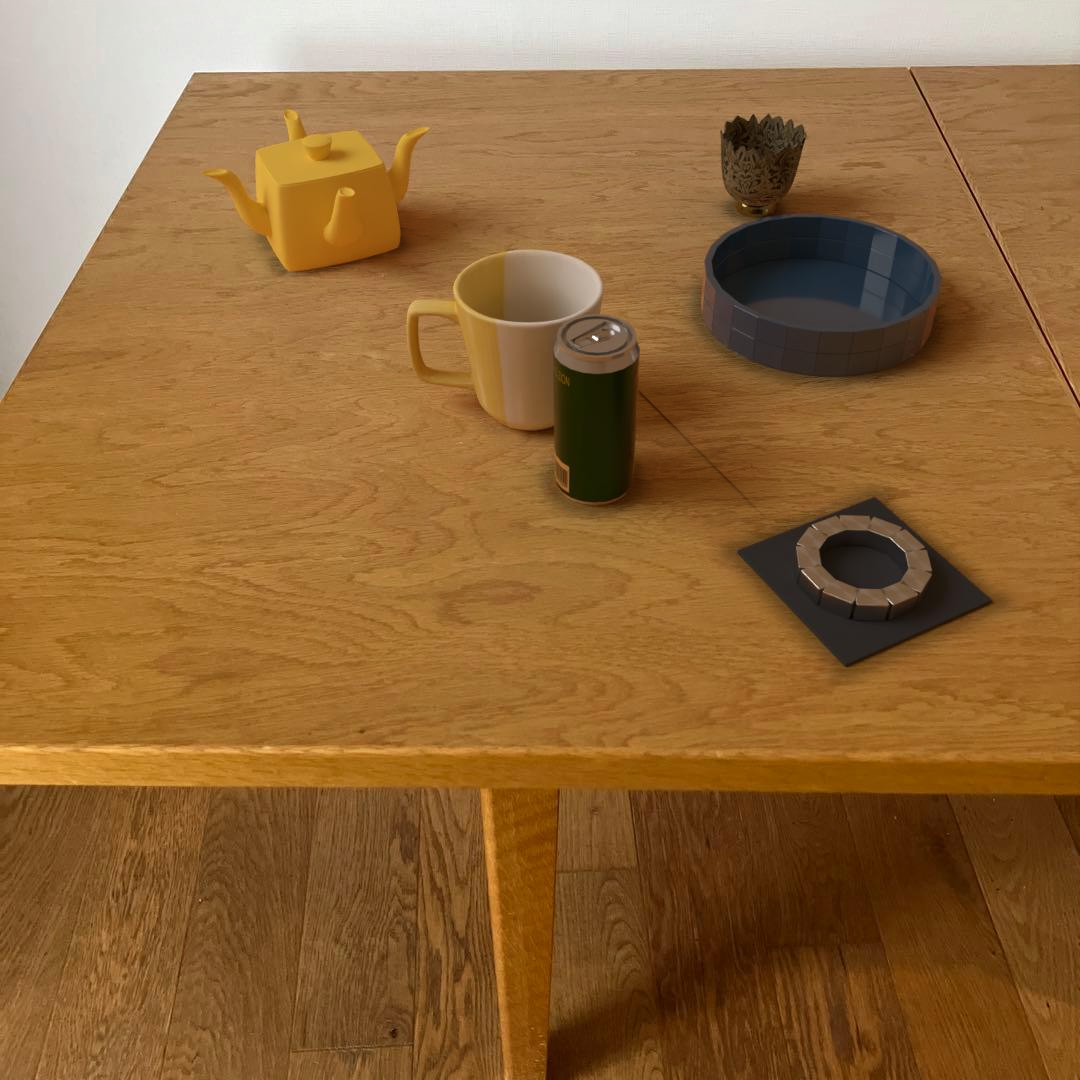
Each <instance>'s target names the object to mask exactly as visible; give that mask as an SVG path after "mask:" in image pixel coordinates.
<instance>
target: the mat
mask: <svg viewBox="0 0 1080 1080" xmlns="http://www.w3.org/2000/svg"><path fill="white" fill-rule="evenodd" d="M840 515H852V516H869V517H870V521H871V520H872V518H873V517H876V518H878V519H881V520H884V521H886V522H889V523H892V524H894V525H897V526H900V527H901V528H902V529H901V531H902V530H904V529H906V530H907V531H908V532H909V533H910V534H911V535H912V536H913V537H914V538H916V539H917V540H918V541H919V542H920V543H921V544H922V545H923V546H924V547H925V549H924V550H927V553H928V557H929V561H930V564H931V568H932V573H931V574H932V576H931V579H930V583H929V586H928V590H927V592H926V593H925V595H924V597H923V598H922V600H921V602H920V603H919V605H918V607H917V608H914V610H913V611H911V612H908V613H906V614H904V615H901V616H899V617H897V618H894V619H892V620H888V619H887V618H886V619H885V621H861V620H853V617H852V615H851V617H850V618H849V619H847V618H844V617H842V616H839V615H837V614H834V613H832V612H830V611H827V610H825V609H822V608H820V604H817V605H816V604H815V603H814V602H813V601H812V600H811V599H810V598H809V597H808V596H807V595H806V594H805V593H804V592H803V591H802V589H801V588H800V587H799V586H798V583H796V579H795V571H794V564H793V560H794V555H795V549H796V545H797V543H798V541H799V540H800V539H801V537H802V536H803V534H804V533H805V532H806V530H807V529H808V528H809V527H812V524H815V523H818V522H820V521H823V520H826V519H828V518H831V517H834V516H837V517H838V518H839V516H840ZM736 553H737V555H739V557H740V558H741V559H742V560H743V561H744V562H745V563H746V564H747V565H748V566H749V567H750V569H752V571H753V572H755V574H756V575H757V576H758V577H759V578H760V579H761V580H762V581H763V582H764V583H765V585H767V586H768V587H769V588H770V589H771V590H772V591H773V593H774V594H775V595H776V596H777V597H778V598H779V599H780V600H781V601H782V602H783V603H784V604H785V605H786V606H787V608H788V609H789V610H791V612H792V613H793V614H794V615H795V616H796V617H797V618H798V619H799V620H800V621H801V622H802V623H803V624H804V625H805V626H806V627H807V628H808V630H809V631H810V632H811V633H812V634H813V635H814V636H815V637H816V638H817V639H818V640H819V641H820V642H821V643H822V644H823V645H824V646H825V648H826V649H827V650H828V651H829V652H830V653H831V654H832V655H833V656H834V657H835V658H836V659H837V660H838V662H839V663H840V664H842V665H843V667H844V668H847V667H850V666H852V665H854V664H857V663H859V662H861V661H863V660H865V659H868V658H870V657H872V656H875V655H877V654H880V653H881V652H884V651H886V650H889V649H890V648H893V647H895V646H897V645H899V644H902V643H904V642H906V641H909V640H911V639H912V638H915V637H918V636H920V635H923V634H924V633H927V632H928V631H931V630H933V629H935V628H938V627H941V626H942V625H945V624H948V623H949V622H951V621H953V620H954V621H955V620H956V619H958V618H960V617H963V616H965V615H967V614H970V613H972V612H974V611H976V610H979V609H981V608H983V607H985V606H988V605H990V604H991V603H992V601H993V600H992V599H991V598H990V597H989V596H988V595H987V594H985V593H984V591H982V590H981V589H980V588H979V587H978V586H977V585H976V584H974V583H973V582H972V581H971V580H970V579H969V578H967V577H966V576H965V575H964V574H963V573H962V572H961V571H959V570H958V569H957V568H956V567H955V566H953V564H951V562H949V561H948V560H947V559H946V558H945V557H944V556H943V555H941V553H939V552H938V551H937V550H935V548H934V547H932V546H931V545H930V544H929V543H928V542H926V541H925V539H924V538H922V537H921V536H920V535H919V534H918V533H916V532H915V531H914V530H913V529H912V528H911V527H910V526H909V525H907V523H905V522H904V521H903V520H902V519H901V518H899V517H898V516H897V515H896V514H895V513H894V512H893V511H892V510H891V509H889V508H888V507H887V506H886V505H885V504H884V503H882V501H880V500H879V499H878V498H877V497H874V496H873V497H871V498H868V499H866V500H864V501H861V502H858V503H855V504H853V505H851V506H847V507H845V508H843V509H840V510H838V511H835V512H833V513H830V514H827V515H824V516H822V517H819V518H817V519H814V520H812V521H809V522H807V523H804V524H800V525H799V526H796V527H794V528H791V529H788V530H786V531H783V532H780V533H778V534H776V535H773V536H770V537H768V538H765V539H762V540H760V541H757V542H755V543H753V544H750V545H747V546H744V547H742V548H738V549H737V551H736ZM820 559H821V565H822V566H823V567H824V568H825V569H826V571H827V572H828V573H829V574H830V575H831V576H832V577H833V578H834V579H836V580H838V581H841V582H843V583H846V584H848V585H851V586H853V587H856V588H862V589H883V588H885V587H888V586H890V585H893V584H895V583H898V582H900V581H901V579H902V578H903V574H902V570H901V567H899V566H898V565H897V564H896V563H895V562H894V561H893V560H892V559H891V558H890V557H889V556H888V555H887V554H885V553H883V552H880V551H877V550H875V549H872V548H870V547H867V546H852V545H842V546H840V547H837V548H835V549H832V550H830V551H827V552H825V553H824V554H823V556H822V557H821V558H820Z"/></svg>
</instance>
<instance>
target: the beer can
mask: <svg viewBox="0 0 1080 1080" xmlns="http://www.w3.org/2000/svg"><path fill="white" fill-rule="evenodd" d="M637 339H638V336H637V332H636V329H635V327H634V326H632V324H630V323H629V322H628V321H626V320H624V319H622V318H621V317H617V316H614V315H610V314H602V313H600V314H590V315H583V316H579V317H575V318H572V319H571V320H569V321H567V322H565V323H564V324H563V325H562V326H561V327H560V328H559V330H558V333H557V340H556V342H555V345H554V348H553V380H554V426H553V446H554V447H553V461H554V463H553V464H554V466H553V469H554V475H553V476H554V481H555V485H556V487H557V488H558V490H559V491H560V493H561V494H562V495H563V496H564V497H565V498H567V499H568V500H570V501H572V502H575V503H578V504H580V505H586V506H605V505H608V504H611V503H614V502H617V501H619V500H621V499H622V498H623V497H625V496H626V495H627V493H628V492H629V490H630V489H631V487H632V486H633V482H634V478H635V463H636V462H635V459H636V439H637V418H638V417H637V416H638V398H639V397H638V395H639V379H640V377H639V375H640V358H641V357H640V355H641V348H640V345H639V343H638V340H637Z"/></svg>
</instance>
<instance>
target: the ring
mask: <svg viewBox="0 0 1080 1080" xmlns="http://www.w3.org/2000/svg"><path fill="white" fill-rule="evenodd" d="M901 529H902V528H901V527H900V526H897V525H894V524H892V523H889V522H886V521H884V520H881V519H878V518H876V517H873V518H872V520H871V521H870V517H869V516H852V515H840V516H839V518H838V517H837V516H834V517H831V518H828V519H826V520H823V521H820V522H818V523H815V524H812V527H809V528H808V529H807V530H806V532H805V533H804V534H803V536H802V537H801V539H800V540H799V541H798V543H797V545H796V549H795V555H794V560H793V564H794V571H795V579H796V583H798V586H799V587H800V588H801V589H802V591H803V592H804V593H805V594H806V595H807V596H808V597H809V598H810V599H811V600H812V601H813V602H814V603H815V604H816V605H817V604H820V608H822V609H825V610H827V611H830V612H832V613H834V614H837V615H839V616H842V617H844V618H847V619H849V618H850V617H851V615H852V617H853V620H861V621H885V619H886V618H887V619H888V620H892V619H894V618H897V617H899V616H901V615H904V614H906V613H908V612H911V611H913V610H914V608H917V607H918V605H919V603H920V602H921V600H922V598H923V597H924V595H925V593H926V592H927V590H928V586H929V583H930V579H931V576H932V574H931V573H932V568H931V564H930V561H929V557H928V553H927V550H924V549H925V547H924V546H923V545H922V544H921V543H920V542H919V541H918V540H917V539H916V538H914V537H913V536H912V535H911V534H910V533H909V532H908V531H907V530H906V529H904V530H902V531H901ZM842 545H852V546H867V547H870V548H872V549H875V550H877V551H880V552H883V553H885V554H887V555H888V556H889V557H890V558H891V559H892V560H893V561H894V562H895V563H896V564H897V565H898V566H899V567H901V570H902V574H903V578H902V579H901V581H900V582H898V583H895V584H893V585H890V586H888V587H885V588H883V589H862V588H856V587H853V586H851V585H848V584H846V583H843V582H841V581H838V580H836V579H834V578H833V577H832V576H831V575H830V574H829V573H828V572H827V571H826V569H825V568H824V567H823V566H822V565H821V559H820V558H821V557H822V556H823V554H824V553H825V552H827V551H830V550H832V549H835V548H837V547H840V546H842Z"/></svg>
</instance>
